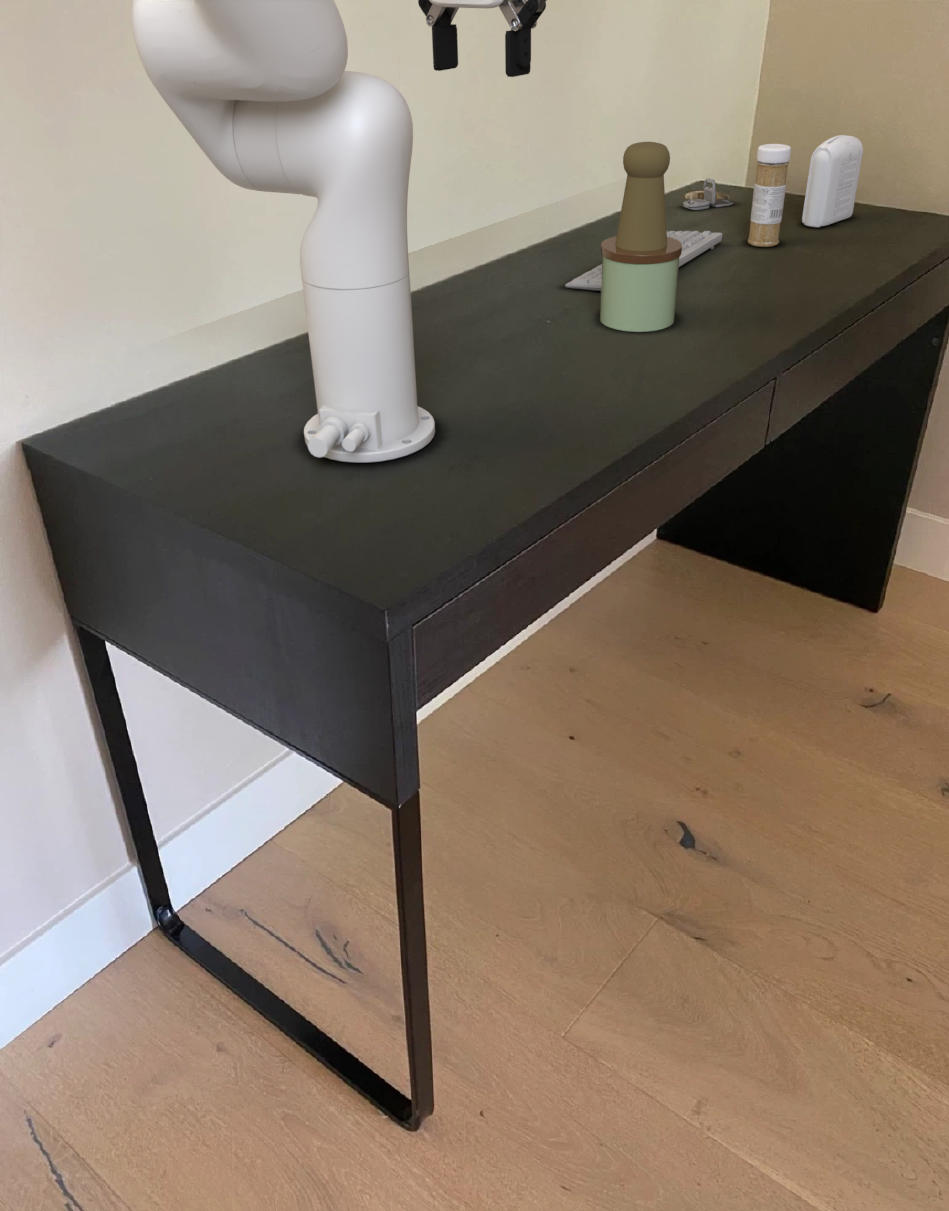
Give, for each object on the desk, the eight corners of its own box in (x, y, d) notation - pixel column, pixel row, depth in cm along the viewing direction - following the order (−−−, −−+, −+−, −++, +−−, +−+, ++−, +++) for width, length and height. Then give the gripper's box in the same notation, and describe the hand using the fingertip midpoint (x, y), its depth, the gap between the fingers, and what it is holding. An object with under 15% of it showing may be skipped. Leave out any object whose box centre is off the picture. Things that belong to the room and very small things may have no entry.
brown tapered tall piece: (666, 251, 119) (673, 148, 113) (613, 250, 120) (617, 147, 114) (668, 237, 124) (676, 138, 117) (617, 236, 125) (622, 137, 118)
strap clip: (690, 211, 170) (693, 183, 168) (680, 207, 173) (683, 180, 170) (734, 205, 173) (737, 178, 171) (724, 201, 175) (727, 174, 173)
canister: (670, 335, 122) (677, 257, 117) (591, 329, 124) (594, 252, 119) (680, 309, 129) (686, 235, 124) (605, 305, 132) (608, 231, 127)
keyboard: (657, 236, 158) (658, 222, 157) (722, 245, 153) (723, 231, 152) (564, 287, 138) (564, 272, 137) (634, 299, 133) (635, 284, 132)
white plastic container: (831, 212, 167) (844, 129, 160) (856, 217, 164) (870, 132, 157) (796, 225, 161) (809, 139, 154) (821, 230, 158) (835, 142, 152)
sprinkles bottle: (770, 238, 155) (782, 141, 148) (784, 246, 151) (797, 147, 144) (741, 241, 154) (752, 143, 147) (755, 249, 151) (767, 149, 143)
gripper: (382, -130, 99) (395, 71, 109) (524, -139, 89) (524, 82, 99) (435, -130, 104) (443, 62, 113) (576, -138, 94) (571, 73, 104)
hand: (481, 71), depth 106 cm, fingers open, 9 cm apart
